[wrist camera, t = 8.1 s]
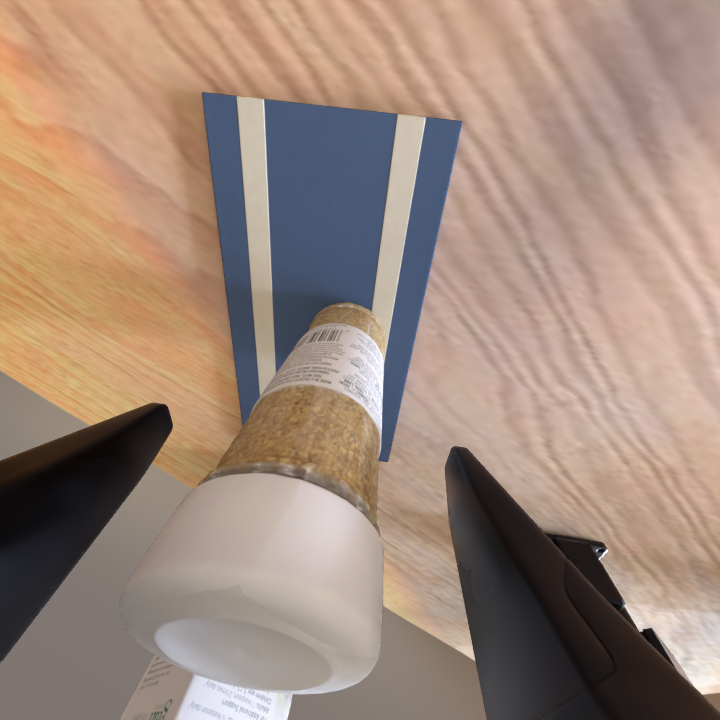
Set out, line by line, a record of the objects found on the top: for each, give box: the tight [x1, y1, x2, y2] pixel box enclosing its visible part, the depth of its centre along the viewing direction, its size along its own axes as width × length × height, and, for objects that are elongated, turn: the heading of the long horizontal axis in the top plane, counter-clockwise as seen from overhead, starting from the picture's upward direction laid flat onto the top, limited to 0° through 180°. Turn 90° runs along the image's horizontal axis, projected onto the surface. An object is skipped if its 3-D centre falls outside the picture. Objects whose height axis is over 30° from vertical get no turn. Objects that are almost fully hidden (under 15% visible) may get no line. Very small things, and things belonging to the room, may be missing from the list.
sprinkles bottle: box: [120, 302, 386, 694], centre depth 11 cm, size 5×5×13 cm
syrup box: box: [120, 655, 293, 720], centre depth 18 cm, size 6×6×14 cm
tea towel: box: [202, 92, 462, 462], centre depth 17 cm, size 20×11×1 cm, turn 174°
